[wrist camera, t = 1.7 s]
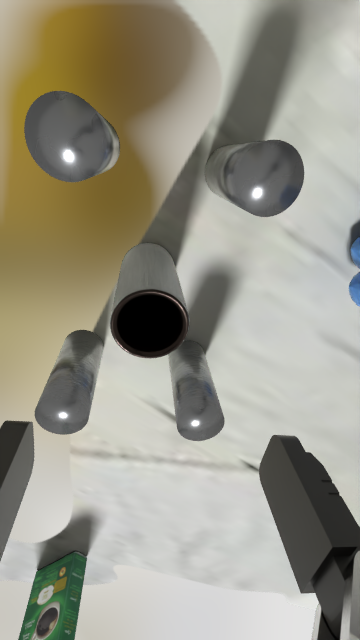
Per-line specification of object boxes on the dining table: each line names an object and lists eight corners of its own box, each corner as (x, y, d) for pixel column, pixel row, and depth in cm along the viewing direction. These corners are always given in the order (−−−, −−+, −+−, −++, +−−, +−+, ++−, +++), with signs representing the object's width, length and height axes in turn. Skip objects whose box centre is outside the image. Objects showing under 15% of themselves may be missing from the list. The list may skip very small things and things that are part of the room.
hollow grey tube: (127, 235, 25) (118, 280, 16) (180, 250, 26) (200, 299, 17) (116, 286, 27) (103, 351, 18) (166, 297, 28) (177, 365, 19)
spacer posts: (68, 109, 21) (22, 81, 13) (257, 150, 23) (314, 148, 16) (63, 360, 30) (35, 433, 22) (200, 372, 33) (218, 441, 25)
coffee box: (48, 577, 48) (18, 711, 36) (34, 571, 47) (-3, 707, 35) (88, 556, 46) (70, 689, 35) (74, 549, 45) (50, 684, 34)
